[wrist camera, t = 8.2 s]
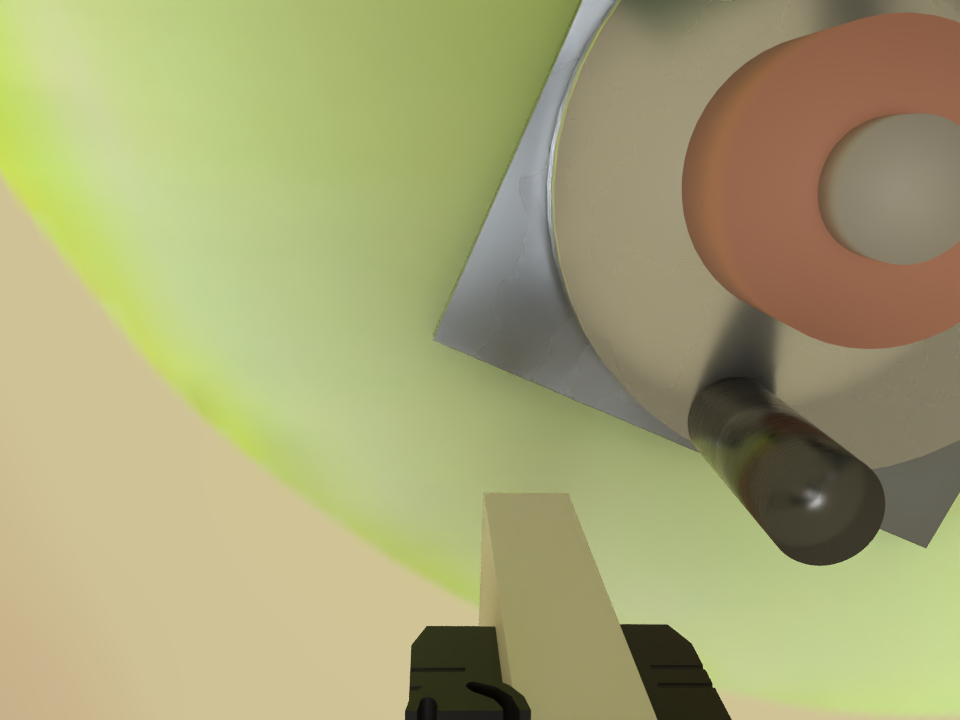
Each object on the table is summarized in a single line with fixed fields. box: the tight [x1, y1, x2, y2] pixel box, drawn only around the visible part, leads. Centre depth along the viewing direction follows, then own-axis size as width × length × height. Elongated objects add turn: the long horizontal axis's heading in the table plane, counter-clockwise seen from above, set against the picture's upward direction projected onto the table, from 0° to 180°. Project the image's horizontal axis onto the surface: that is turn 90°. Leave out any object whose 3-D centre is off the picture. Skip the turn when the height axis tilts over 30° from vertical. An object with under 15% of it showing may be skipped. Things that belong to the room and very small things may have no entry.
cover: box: [682, 13, 960, 349], centre depth 20 cm, size 7×7×4 cm
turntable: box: [547, 0, 960, 566], centre depth 20 cm, size 15×15×8 cm
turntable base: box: [433, 0, 960, 548], centre depth 19 cm, size 16×16×12 cm
